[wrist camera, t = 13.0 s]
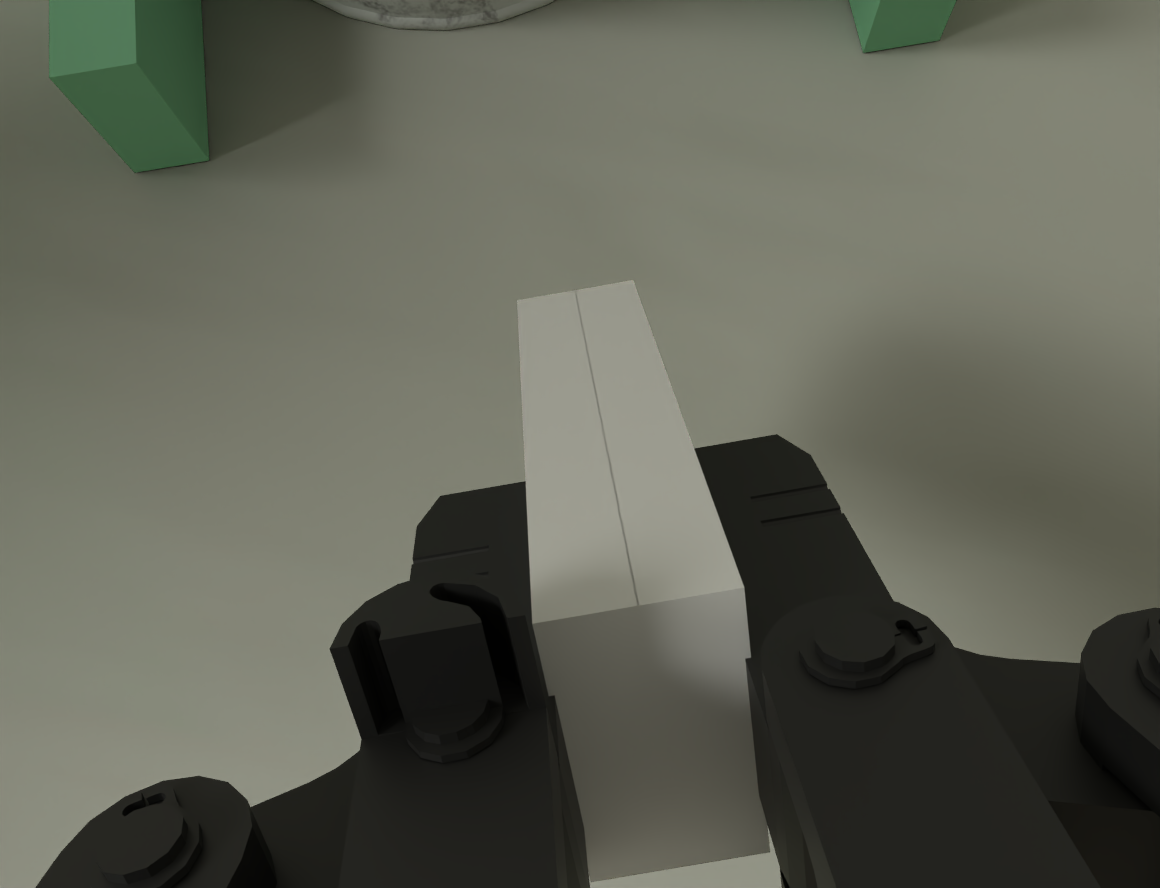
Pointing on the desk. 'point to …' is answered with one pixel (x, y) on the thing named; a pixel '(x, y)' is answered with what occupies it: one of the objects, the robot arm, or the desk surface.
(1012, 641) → the desk surface
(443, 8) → the speckled concrete drum
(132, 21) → the green angular frame
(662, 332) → the desk surface
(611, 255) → the desk surface
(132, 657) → the desk surface
